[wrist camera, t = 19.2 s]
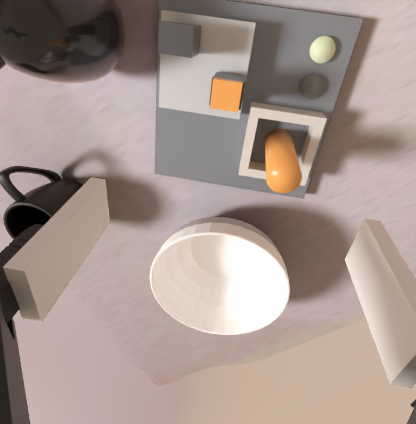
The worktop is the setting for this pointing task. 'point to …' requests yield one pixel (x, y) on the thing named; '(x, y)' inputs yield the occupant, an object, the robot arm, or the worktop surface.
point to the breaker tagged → (227, 91)
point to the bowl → (220, 277)
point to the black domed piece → (61, 38)
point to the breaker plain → (179, 39)
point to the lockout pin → (281, 162)
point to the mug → (35, 199)
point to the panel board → (248, 89)
